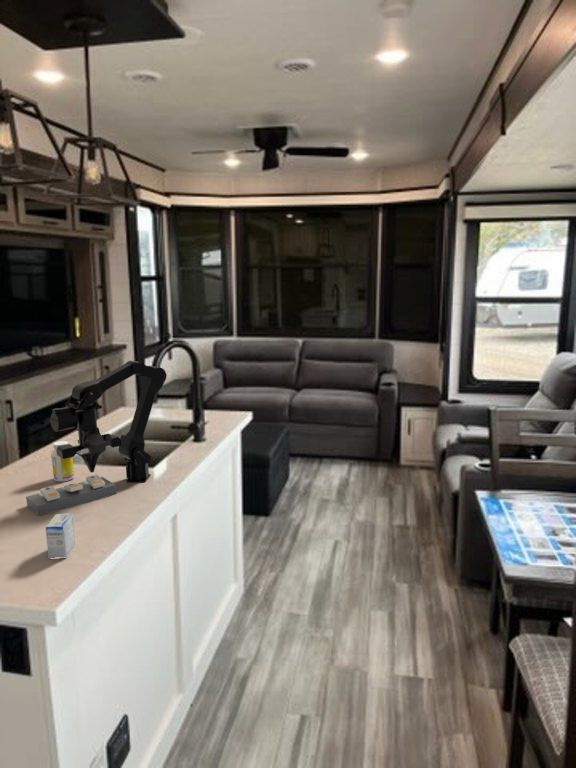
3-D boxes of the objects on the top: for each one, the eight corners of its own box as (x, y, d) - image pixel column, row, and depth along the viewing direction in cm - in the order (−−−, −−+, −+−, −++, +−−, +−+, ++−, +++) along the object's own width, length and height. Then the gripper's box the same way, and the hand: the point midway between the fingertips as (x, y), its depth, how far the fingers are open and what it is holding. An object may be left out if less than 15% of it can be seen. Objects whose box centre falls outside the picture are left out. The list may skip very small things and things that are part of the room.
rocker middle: (64, 489, 176) (63, 485, 176) (75, 486, 178) (75, 482, 178) (71, 491, 171) (70, 487, 171) (83, 488, 174) (82, 484, 174)
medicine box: (58, 545, 147) (54, 513, 146) (76, 544, 148) (72, 512, 146) (48, 560, 140) (44, 527, 138) (67, 559, 140) (63, 526, 138)
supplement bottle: (78, 475, 198) (74, 440, 196) (69, 482, 192) (65, 445, 189) (59, 475, 199) (56, 439, 196) (50, 482, 192) (46, 445, 190)
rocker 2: (85, 480, 180) (85, 477, 180) (96, 477, 183) (96, 474, 182) (93, 488, 176) (93, 485, 176) (105, 485, 179) (105, 482, 178)
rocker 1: (40, 492, 171) (40, 488, 171) (52, 489, 174) (52, 485, 173) (47, 501, 167) (47, 497, 167) (60, 497, 170) (59, 494, 169)
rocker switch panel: (103, 485, 188) (102, 475, 188) (116, 493, 181) (115, 483, 180) (27, 506, 173) (25, 495, 172) (38, 516, 165) (37, 504, 165)
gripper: (67, 436, 166) (72, 486, 169) (126, 423, 178) (130, 471, 181) (53, 428, 174) (58, 477, 177) (111, 417, 186) (115, 462, 189)
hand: (91, 472), depth 181 cm, fingers closed
